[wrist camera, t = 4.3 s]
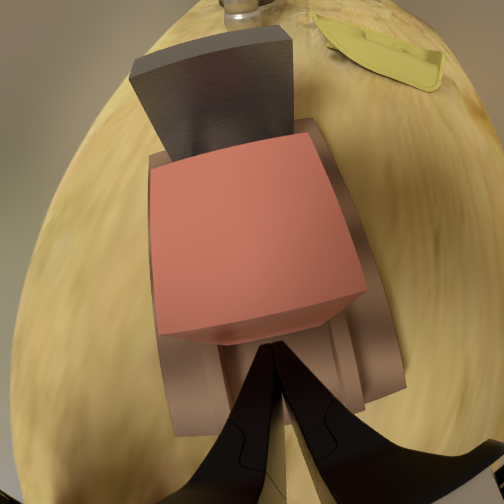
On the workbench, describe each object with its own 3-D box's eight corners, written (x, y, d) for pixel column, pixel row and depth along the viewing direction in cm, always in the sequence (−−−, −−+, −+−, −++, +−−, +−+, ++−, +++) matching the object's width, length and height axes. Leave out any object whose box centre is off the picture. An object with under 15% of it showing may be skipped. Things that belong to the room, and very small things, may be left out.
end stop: (293, 148, 22) (292, 39, 12) (179, 174, 22) (128, 78, 12) (284, 126, 23) (278, 24, 13) (178, 150, 23) (134, 59, 14)
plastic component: (427, 51, 27) (448, 53, 20) (418, 87, 33) (437, 97, 26) (312, 15, 30) (307, 7, 23) (307, 53, 35) (301, 53, 28)
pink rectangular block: (320, 325, 16) (368, 290, 7) (227, 345, 16) (159, 334, 7) (298, 239, 19) (307, 132, 9) (212, 258, 19) (150, 169, 9)
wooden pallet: (398, 385, 16) (417, 390, 13) (182, 431, 16) (165, 443, 13) (312, 128, 25) (313, 104, 22) (154, 164, 25) (142, 144, 22)
